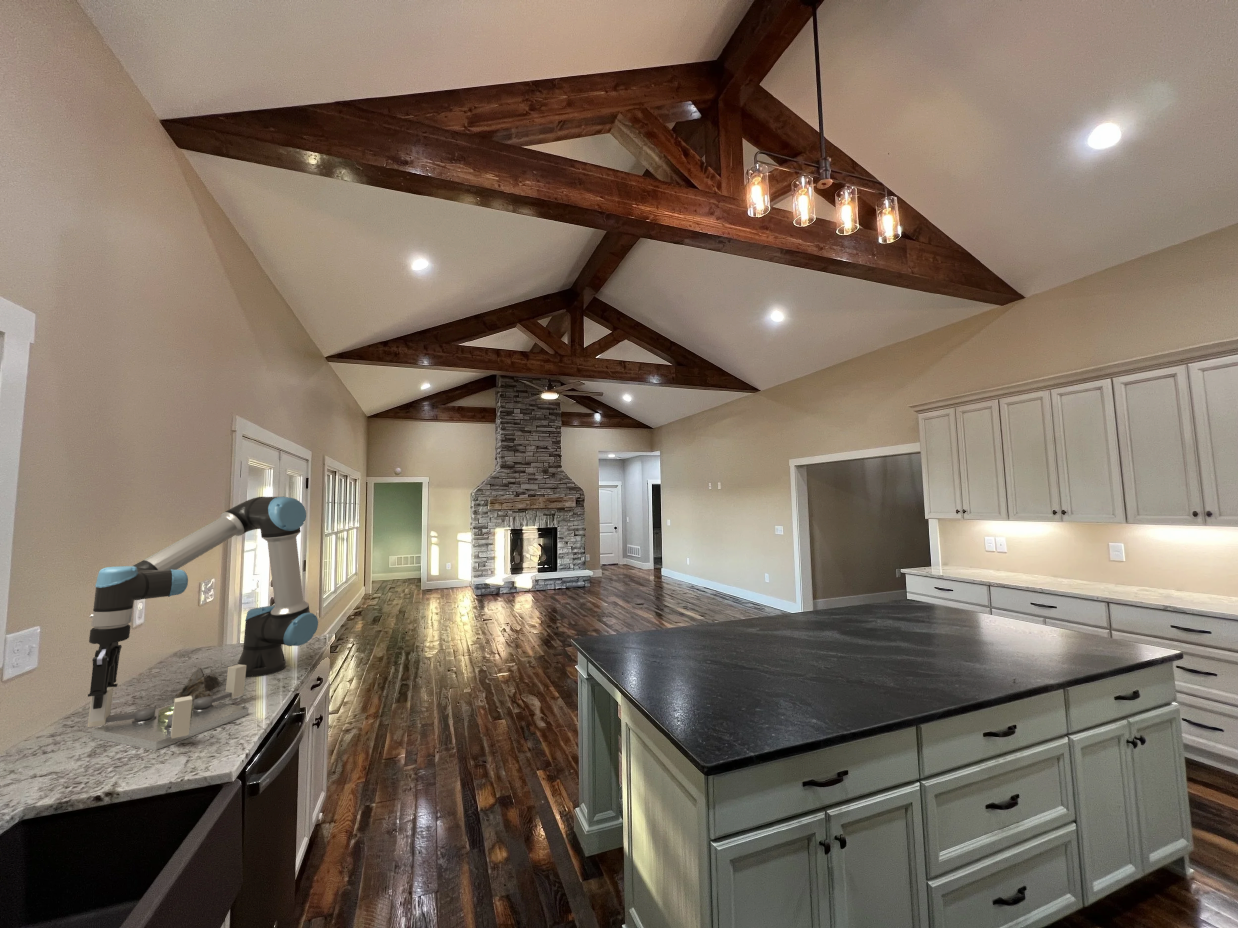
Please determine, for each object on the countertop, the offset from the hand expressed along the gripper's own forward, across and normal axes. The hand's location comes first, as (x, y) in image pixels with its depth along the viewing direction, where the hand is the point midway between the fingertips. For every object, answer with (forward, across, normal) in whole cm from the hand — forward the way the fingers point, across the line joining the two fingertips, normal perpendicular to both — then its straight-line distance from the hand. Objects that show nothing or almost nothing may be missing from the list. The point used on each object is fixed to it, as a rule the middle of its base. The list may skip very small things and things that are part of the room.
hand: (99, 717), depth 129 cm
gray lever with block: (+2, -5, +24) cm, 25 cm away
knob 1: (+2, 0, +5) cm, 5 cm away
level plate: (+4, +3, +16) cm, 16 cm away
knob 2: (+1, +14, +18) cm, 23 cm away
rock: (+5, -25, +17) cm, 31 cm away
